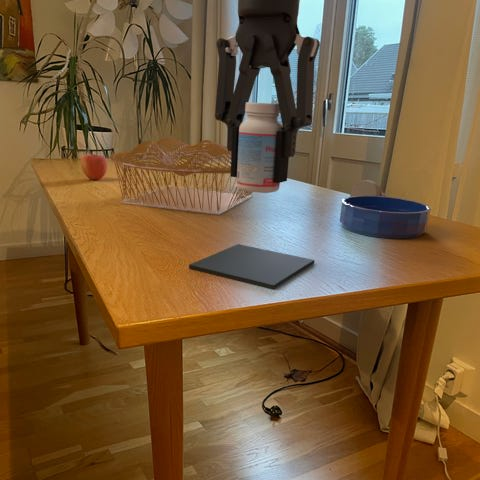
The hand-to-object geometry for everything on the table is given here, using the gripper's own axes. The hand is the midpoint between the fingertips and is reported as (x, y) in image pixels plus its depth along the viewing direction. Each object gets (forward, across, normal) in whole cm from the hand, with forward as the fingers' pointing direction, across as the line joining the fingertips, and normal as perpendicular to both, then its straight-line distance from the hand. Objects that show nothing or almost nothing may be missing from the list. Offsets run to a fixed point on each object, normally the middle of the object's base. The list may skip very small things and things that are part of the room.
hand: (258, 178), depth 67 cm
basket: (+13, -36, +35) cm, 52 cm away
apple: (+13, -75, +40) cm, 86 cm away
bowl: (+13, +9, +38) cm, 41 cm away
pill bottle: (+2, 0, 0) cm, 2 cm away
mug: (+13, +1, +55) cm, 57 cm away
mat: (+13, 0, 0) cm, 13 cm away
